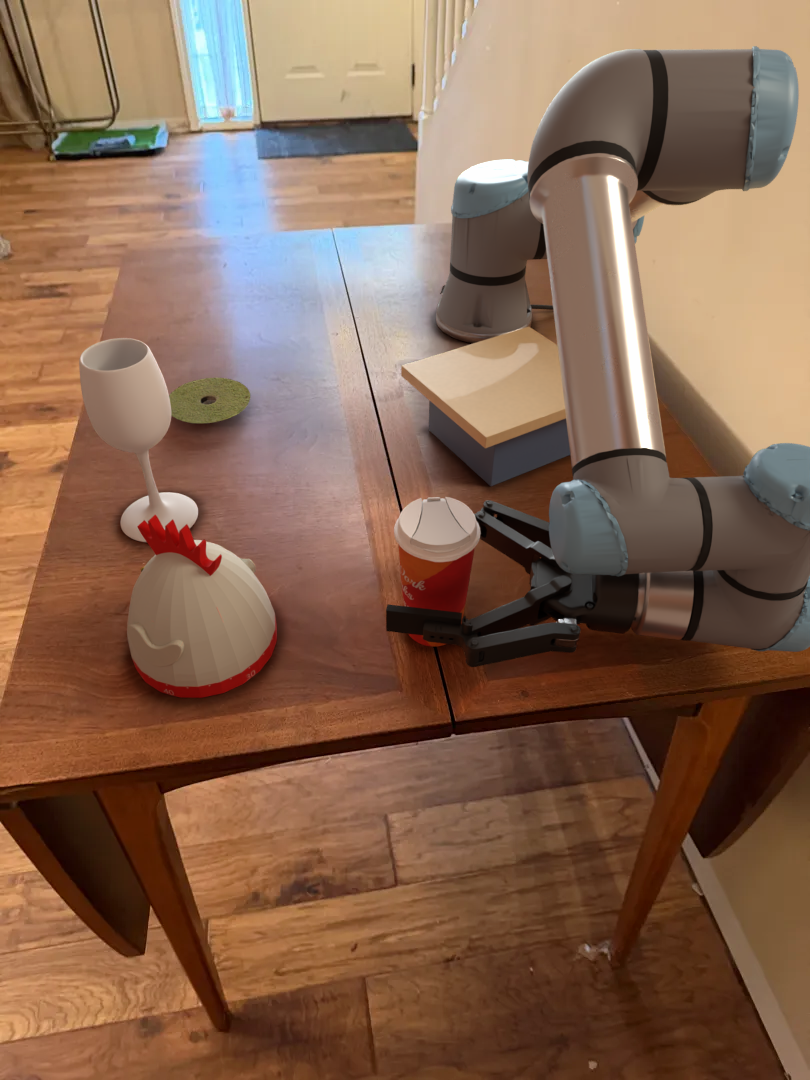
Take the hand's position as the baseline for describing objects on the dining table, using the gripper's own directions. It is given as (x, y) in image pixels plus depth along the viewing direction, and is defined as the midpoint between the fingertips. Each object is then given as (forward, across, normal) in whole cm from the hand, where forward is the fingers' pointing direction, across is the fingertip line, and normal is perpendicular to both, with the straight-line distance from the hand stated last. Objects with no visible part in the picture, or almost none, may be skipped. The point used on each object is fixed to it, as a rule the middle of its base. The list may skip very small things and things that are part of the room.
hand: (397, 567), depth 73 cm
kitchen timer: (+18, -5, -8) cm, 20 cm away
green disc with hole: (+31, +34, -8) cm, 46 cm away
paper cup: (-4, 0, -8) cm, 9 cm away
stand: (-9, +33, -8) cm, 35 cm away
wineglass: (+29, +11, -8) cm, 33 cm away
